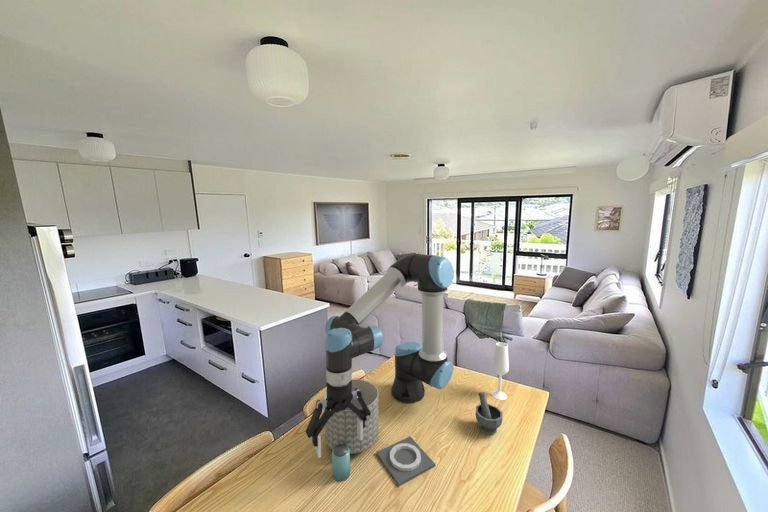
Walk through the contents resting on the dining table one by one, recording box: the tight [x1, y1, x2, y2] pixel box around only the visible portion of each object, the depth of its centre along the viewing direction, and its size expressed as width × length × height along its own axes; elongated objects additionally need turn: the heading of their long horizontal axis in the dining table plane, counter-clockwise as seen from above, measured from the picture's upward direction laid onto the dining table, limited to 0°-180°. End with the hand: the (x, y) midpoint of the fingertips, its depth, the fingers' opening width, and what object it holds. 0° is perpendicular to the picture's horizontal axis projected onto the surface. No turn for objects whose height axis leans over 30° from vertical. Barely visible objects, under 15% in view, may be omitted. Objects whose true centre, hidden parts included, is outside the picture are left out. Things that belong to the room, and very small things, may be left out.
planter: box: [323, 378, 380, 455], centre depth 104 cm, size 19×19×18 cm
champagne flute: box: [490, 341, 510, 401], centre depth 130 cm, size 7×7×24 cm
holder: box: [376, 436, 436, 487], centre depth 97 cm, size 14×14×2 cm
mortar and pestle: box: [475, 391, 503, 435], centre depth 111 cm, size 11×9×12 cm
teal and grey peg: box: [331, 444, 351, 483], centre depth 91 cm, size 6×6×9 cm
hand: (339, 445), depth 90 cm, fingers open, 13 cm apart
